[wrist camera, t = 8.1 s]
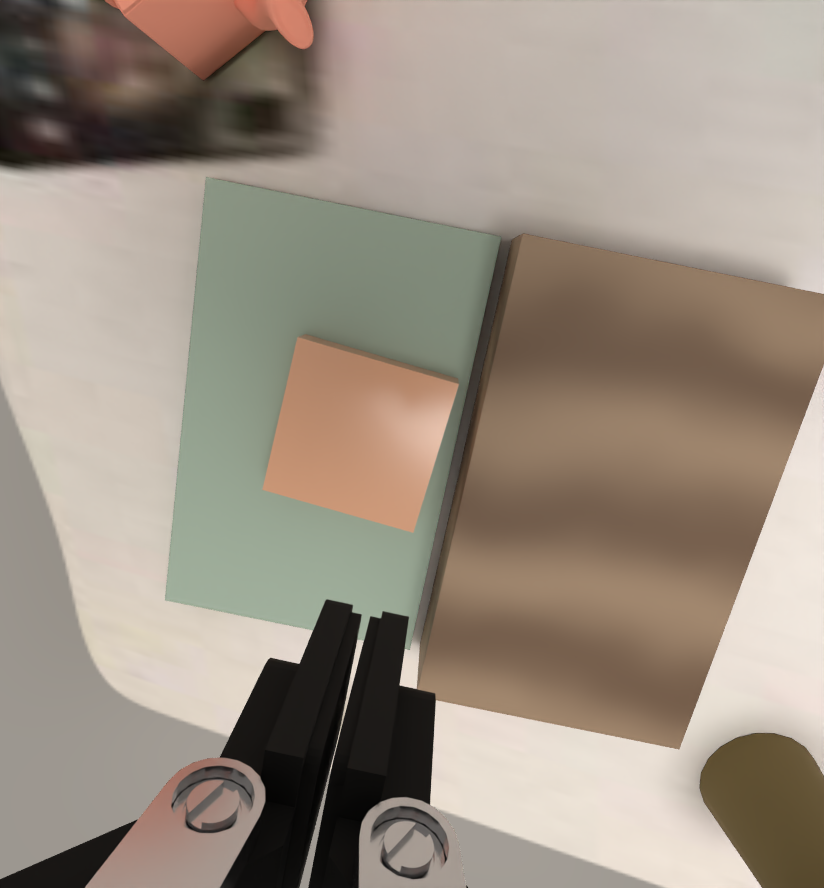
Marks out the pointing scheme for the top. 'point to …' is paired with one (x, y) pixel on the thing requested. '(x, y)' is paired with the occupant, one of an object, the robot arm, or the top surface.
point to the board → (614, 486)
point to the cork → (769, 807)
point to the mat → (264, 382)
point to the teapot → (215, 27)
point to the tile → (358, 432)
